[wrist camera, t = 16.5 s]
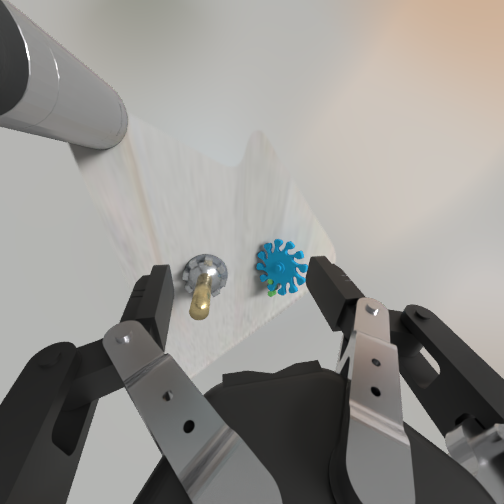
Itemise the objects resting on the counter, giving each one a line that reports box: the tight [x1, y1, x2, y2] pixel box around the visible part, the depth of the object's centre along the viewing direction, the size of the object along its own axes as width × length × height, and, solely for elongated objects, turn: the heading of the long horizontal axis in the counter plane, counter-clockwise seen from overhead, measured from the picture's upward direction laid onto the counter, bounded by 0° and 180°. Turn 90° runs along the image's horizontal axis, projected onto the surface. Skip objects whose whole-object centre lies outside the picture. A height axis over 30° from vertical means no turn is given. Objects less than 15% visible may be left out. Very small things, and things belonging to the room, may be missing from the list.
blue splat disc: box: [257, 239, 308, 297], centre depth 40 cm, size 11×6×10 cm
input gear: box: [182, 256, 227, 320], centre depth 35 cm, size 8×8×12 cm
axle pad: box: [186, 254, 228, 289], centre depth 41 cm, size 8×8×1 cm
